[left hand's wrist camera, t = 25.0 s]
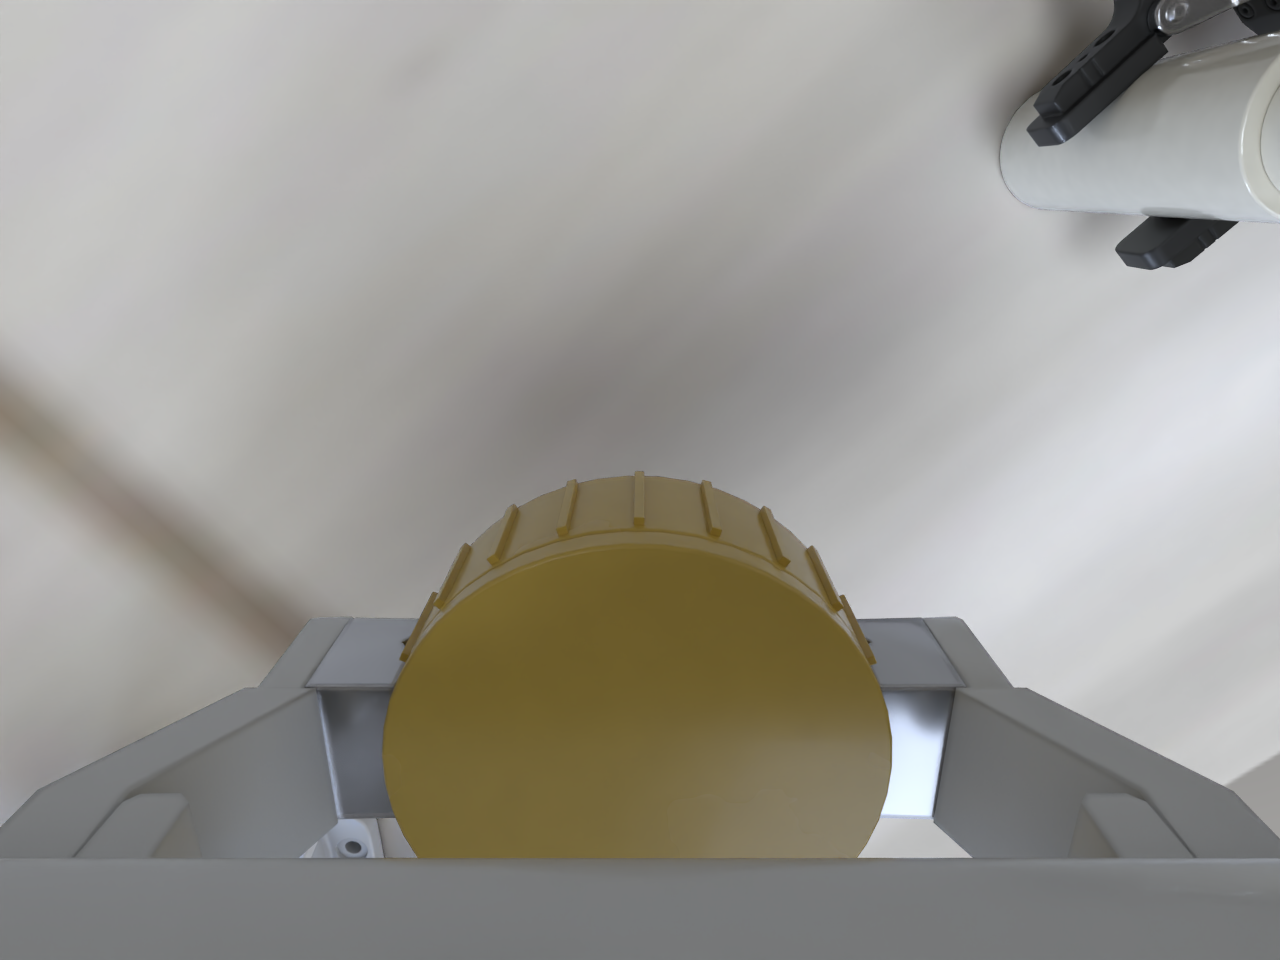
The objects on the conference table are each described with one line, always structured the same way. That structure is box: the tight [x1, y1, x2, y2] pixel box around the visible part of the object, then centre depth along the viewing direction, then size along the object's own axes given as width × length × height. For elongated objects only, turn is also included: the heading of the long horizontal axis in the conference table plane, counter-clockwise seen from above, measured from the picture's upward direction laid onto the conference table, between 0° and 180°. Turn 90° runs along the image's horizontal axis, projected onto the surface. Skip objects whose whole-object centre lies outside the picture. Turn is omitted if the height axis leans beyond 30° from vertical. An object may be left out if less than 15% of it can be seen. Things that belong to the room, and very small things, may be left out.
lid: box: [382, 471, 892, 858], centre depth 9 cm, size 6×6×2 cm
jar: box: [1000, 30, 1280, 224], centre depth 25 cm, size 5×5×16 cm
